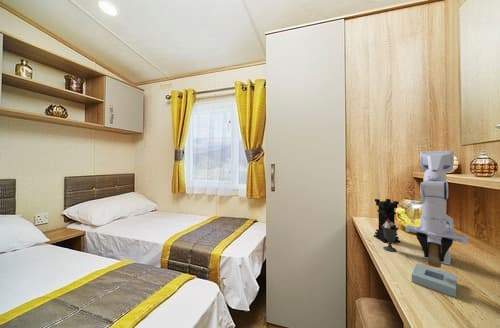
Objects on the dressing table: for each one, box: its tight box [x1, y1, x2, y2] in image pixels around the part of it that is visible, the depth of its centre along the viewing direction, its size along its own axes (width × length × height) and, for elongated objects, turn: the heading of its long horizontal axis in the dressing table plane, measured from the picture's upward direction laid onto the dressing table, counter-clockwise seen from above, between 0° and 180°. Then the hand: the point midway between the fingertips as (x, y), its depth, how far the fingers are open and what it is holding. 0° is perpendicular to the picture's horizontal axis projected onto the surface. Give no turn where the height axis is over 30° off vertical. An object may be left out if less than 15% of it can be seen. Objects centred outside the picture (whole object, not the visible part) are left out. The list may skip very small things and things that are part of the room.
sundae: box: [381, 215, 400, 253], centre depth 87 cm, size 7×7×15 cm
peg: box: [427, 242, 442, 269], centre depth 63 cm, size 3×3×7 cm
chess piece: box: [373, 198, 401, 244], centre depth 98 cm, size 8×8×20 cm
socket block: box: [411, 263, 458, 298], centre depth 63 cm, size 10×10×2 cm
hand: (434, 258), depth 63 cm, fingers closed on peg, 3 cm apart
